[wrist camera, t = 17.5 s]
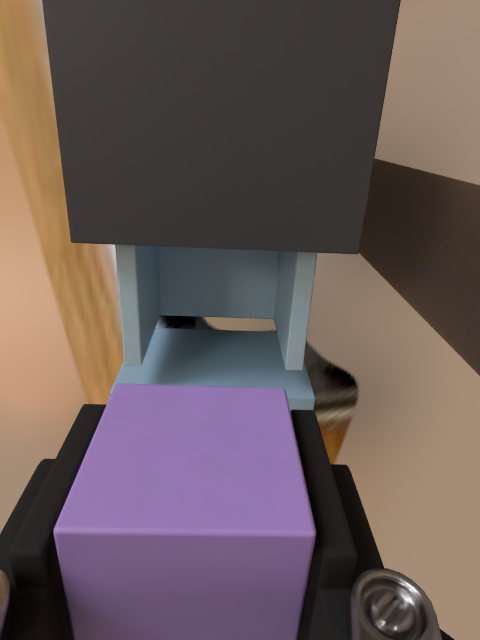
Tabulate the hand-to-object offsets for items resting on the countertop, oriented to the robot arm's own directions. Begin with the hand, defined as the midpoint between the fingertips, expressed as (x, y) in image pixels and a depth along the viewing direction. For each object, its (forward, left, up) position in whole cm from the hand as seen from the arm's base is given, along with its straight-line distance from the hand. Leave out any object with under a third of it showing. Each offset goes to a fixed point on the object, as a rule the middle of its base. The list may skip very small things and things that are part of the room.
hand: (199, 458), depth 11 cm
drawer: (+1, +2, -15) cm, 15 cm away
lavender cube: (0, 0, 0) cm, 0 cm away
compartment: (-4, -8, -16) cm, 18 cm away
